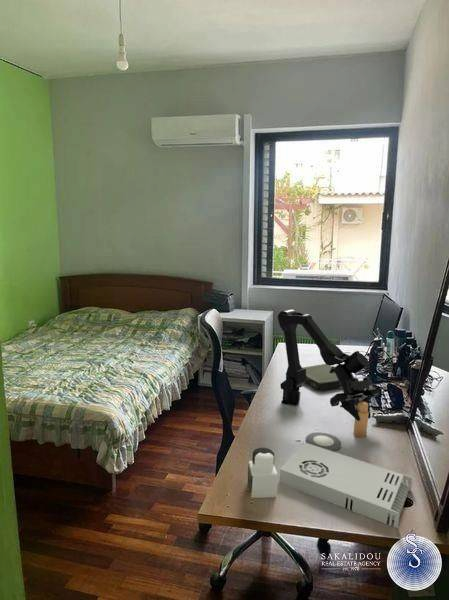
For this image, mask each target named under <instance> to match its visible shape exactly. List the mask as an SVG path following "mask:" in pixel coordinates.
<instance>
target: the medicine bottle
mask: <svg viewBox="0 0 449 600" xmlns="http://www.w3.org/2000/svg"><path fill="white" fill-rule="evenodd" d="M247 468H248V469H247V486H248V490H249V494H250V498H252V499H259V498H260V499H264V498H265V499H267V498H269V499H270V498H277V494H278V493H277V491H278V490H277V489H278V479H279V478H278V477H279V476H278V472H277V469H276V466H275V452H274V451H273V450H272V449H271V448H268V447H257V448H255V449H254V450H253V452H252V460H249V461H248V467H247Z"/></svg>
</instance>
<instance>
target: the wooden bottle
mask: <svg viewBox="0 0 449 600" xmlns="http://www.w3.org/2000/svg"><path fill="white" fill-rule="evenodd" d="M356 405H357V404H356ZM356 410H357V412H358V415H359V417H360V420H359V421H357V420H356V419H355V418H354V422H353V423H354V425H353V435H354V436H355V437H358V438H361V439H363V438H366V437H367V433H368V424H369V423H368V421H369V419H368V415H369V412H368V403H366V402H362V401H360V402H358V405H357V407H356Z"/></svg>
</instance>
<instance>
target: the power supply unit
mask: <svg viewBox="0 0 449 600" xmlns="http://www.w3.org/2000/svg"><path fill="white" fill-rule="evenodd" d="M279 483H280V484H281V485H282V484H283V485H284V486H287V487H289V488H290V487H291V488H293V489H295V490H297V491H300V492H303V493H305V494H307V495H311V496H314V497H316V498H318V499H321V500H323V501H326V502H329V503H332V504H333V505H336V506H339V507H341V508H343V509H344V508H346V507H347V510H351V511H352V512H354V513H356V514H359V515H361V516H363V517H366V518H370V519H372V520H374V521H377V522H380V523H383V524H385V525H387V524H388V526H390V527H391V526H392V525H393V528H396V529H399V525H400V524H399V523H400V516H401V514H402V511H403V508H404V505H405V502H406V499H407V497H408V494H409V492H411V491H412V485H413V484H412V483H413V478H412V477H411V476H409V475H407V474H403V473H400V472H398V471H394V470H391V469H388V468H385V467H382V466H379V465H376V464H373V463H369V462H366V461H364V460H360V459H357V458H354V457H351V456H348V455H344V454H342V453H340V452H339V453H338V452H336V451H330V450H327V449H324V448H321V447H318V446H315V445H311V444H308V443H306V442H304V443H303V444H302V445H301V446H300V447H299V448H298V449H297V450H295V452H294V453H293V454H292V455H291V456H290V457H289V459H288V460H287V461H286V462H285V463H284V464H283V465H282V466H281V467H280V469H279ZM406 483H407V484H406ZM351 503H352V506H351ZM346 504H347V506H346ZM388 518H389V521H388ZM387 522H388V523H387Z"/></svg>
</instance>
